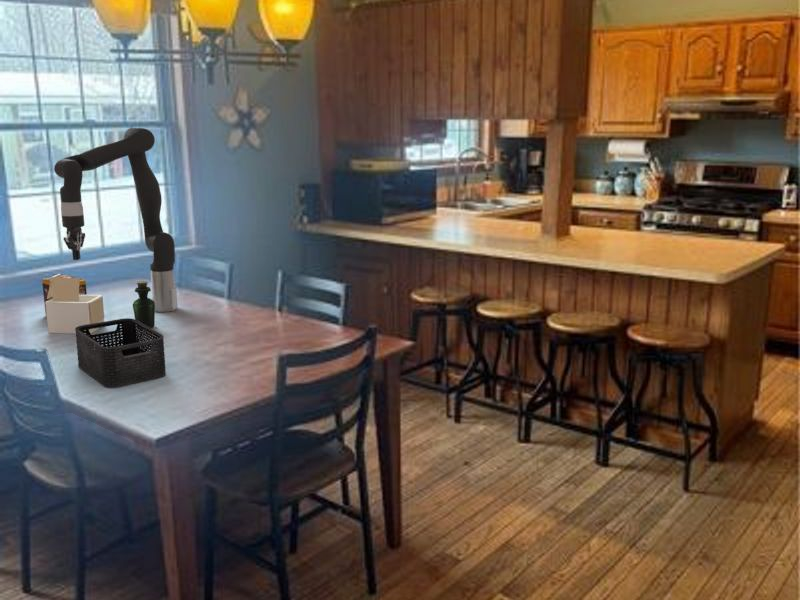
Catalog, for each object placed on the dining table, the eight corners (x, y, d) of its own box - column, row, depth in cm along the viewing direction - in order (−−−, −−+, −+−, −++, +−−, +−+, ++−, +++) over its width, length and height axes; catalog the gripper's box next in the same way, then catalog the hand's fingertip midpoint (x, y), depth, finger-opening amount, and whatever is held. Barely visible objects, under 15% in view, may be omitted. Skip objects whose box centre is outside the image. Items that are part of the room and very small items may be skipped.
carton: (106, 324, 279) (103, 294, 277) (92, 333, 267) (89, 302, 264) (64, 323, 280) (61, 294, 277) (48, 332, 268) (45, 301, 265)
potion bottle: (134, 331, 271) (131, 285, 267) (134, 325, 279) (130, 280, 274) (157, 329, 274) (154, 283, 270) (155, 323, 282) (152, 279, 277)
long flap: (79, 278, 264) (79, 278, 264) (78, 301, 264) (77, 301, 263) (54, 277, 265) (53, 277, 264) (52, 301, 264) (52, 301, 264)
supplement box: (65, 322, 282) (61, 284, 278) (45, 316, 291) (41, 278, 287) (89, 317, 290) (86, 279, 286) (69, 311, 299) (66, 274, 295)
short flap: (60, 273, 271) (59, 273, 271) (52, 277, 265) (51, 276, 265) (55, 295, 273) (54, 294, 273) (47, 298, 268) (46, 298, 268)
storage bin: (170, 376, 225) (167, 335, 222) (108, 390, 212) (104, 347, 209) (133, 354, 245) (130, 316, 242) (75, 366, 233) (71, 326, 229)
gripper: (74, 216, 259) (78, 263, 263) (90, 212, 272) (94, 256, 276) (53, 216, 259) (58, 262, 263) (71, 211, 272) (75, 256, 276)
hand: (76, 259), depth 270 cm, fingers closed
